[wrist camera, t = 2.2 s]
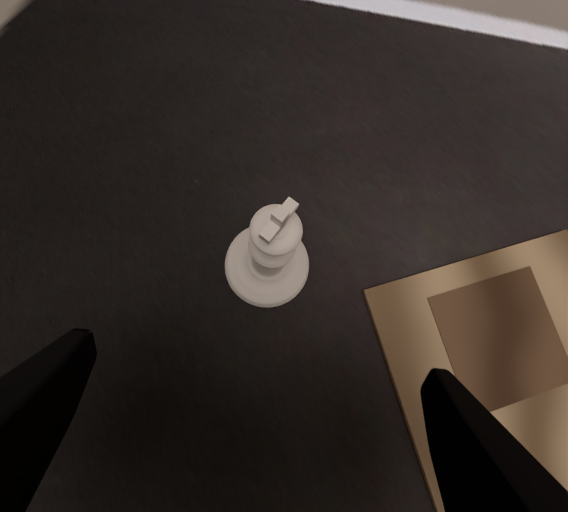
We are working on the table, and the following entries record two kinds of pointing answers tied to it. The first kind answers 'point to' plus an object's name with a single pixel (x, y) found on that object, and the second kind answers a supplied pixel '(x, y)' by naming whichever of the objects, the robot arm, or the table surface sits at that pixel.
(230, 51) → the table surface
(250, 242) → the chess piece
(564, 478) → the board
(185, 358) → the table surface
